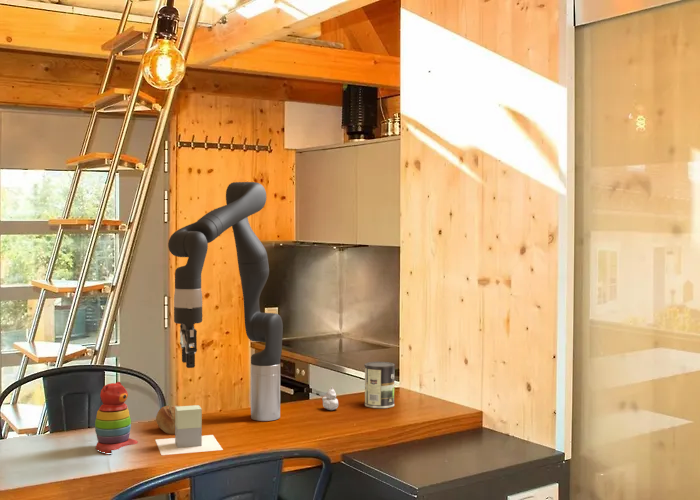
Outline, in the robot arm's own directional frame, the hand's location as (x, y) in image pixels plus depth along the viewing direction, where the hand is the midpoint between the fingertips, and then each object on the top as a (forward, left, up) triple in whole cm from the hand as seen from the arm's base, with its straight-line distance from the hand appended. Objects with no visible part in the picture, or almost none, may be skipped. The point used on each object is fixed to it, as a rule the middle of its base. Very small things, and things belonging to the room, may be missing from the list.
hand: (188, 364), depth 216 cm
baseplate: (0, 0, -23) cm, 23 cm away
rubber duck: (-33, +51, -23) cm, 65 cm away
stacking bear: (-7, -19, -23) cm, 31 cm away
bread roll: (-19, -2, -23) cm, 30 cm away
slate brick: (0, 0, -22) cm, 22 cm away
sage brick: (0, 0, -17) cm, 17 cm away
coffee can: (-34, +69, -23) cm, 80 cm away
